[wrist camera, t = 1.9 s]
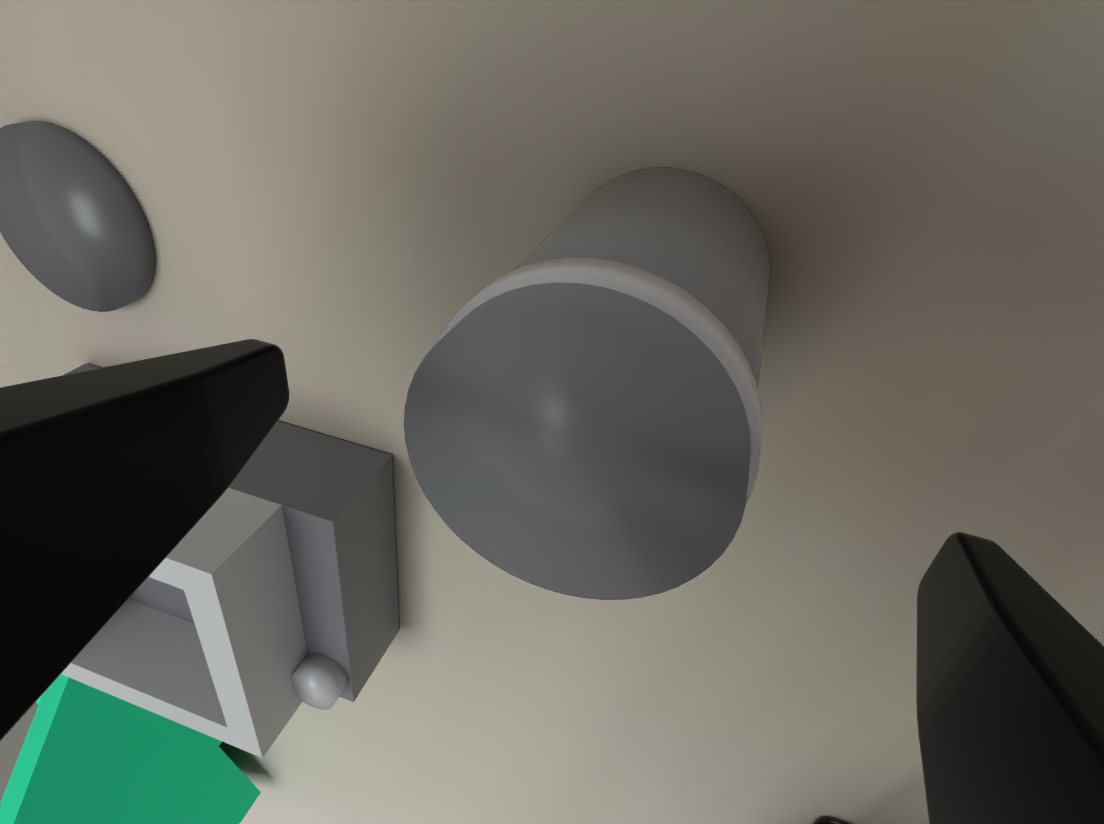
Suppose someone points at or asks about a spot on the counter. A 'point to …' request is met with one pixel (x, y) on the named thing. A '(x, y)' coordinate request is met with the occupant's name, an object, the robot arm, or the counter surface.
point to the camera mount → (119, 766)
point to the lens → (604, 393)
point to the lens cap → (73, 218)
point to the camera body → (263, 596)
